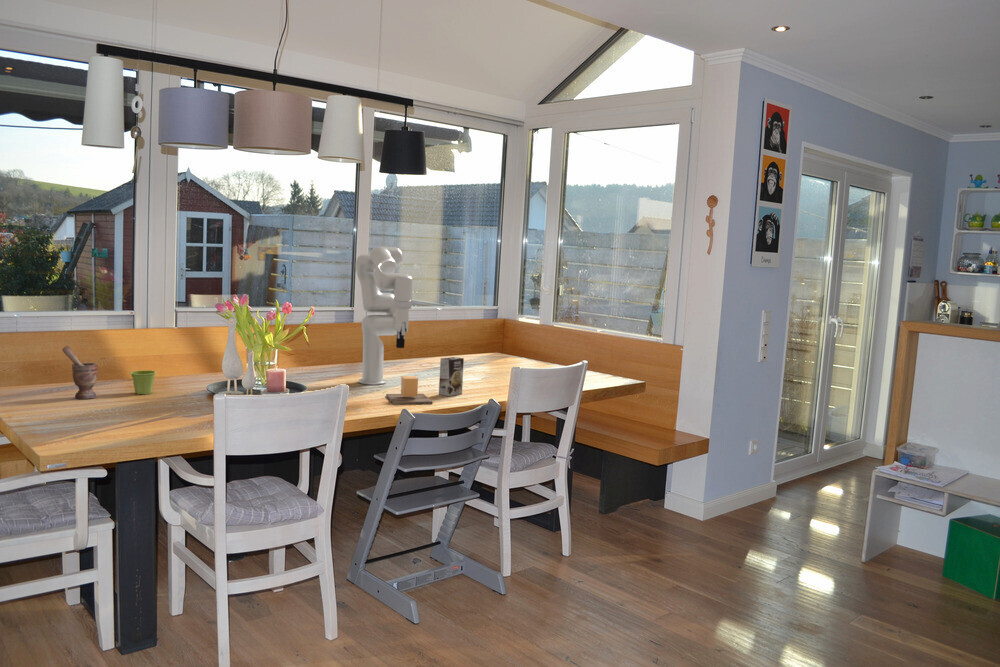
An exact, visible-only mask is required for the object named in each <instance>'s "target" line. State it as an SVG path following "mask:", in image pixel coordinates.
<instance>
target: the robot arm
mask: <svg viewBox="0 0 1000 667" xmlns="http://www.w3.org/2000/svg"><path fill="white" fill-rule="evenodd" d="M403 256H404V255H403V253H402V250H401V249H400V248H399V247H396V246H375V247H373V248H372V249H371V251H370V253H365V254H360V255H359V256H357V257H356V261H355V270H356V271H355V272H356V275H357V279H358V282H359V283H360V288H361V299H362V306H363V310H364V311H365V312H366V313H368V314H369V313H370V314H369V315H366V316H364V317H363V318H362V320H361V330H362V331H361V332H362V365H361V366H362V371H361V378H359V379H358V383H360V384H361V385H362V384H363V385H371V386H372V385H373V386H374V385H375V386H376V385H385V384H387V380H386V379H385V378H384V354H385V352H384V350H385V346H384V342H383V341H382V339H381V338H380V337H381V336H395V335H396V338H395V339H396V342H395V347H396V348H397V349H404V348H405V342H406V341H405V340H406V333H408V332H409V320H410V319H409V318H410V314H409V312H410V310H412V298H413V284H414V283H413V282H414V281H413V280H414V279H413V277H412V276H411V275H409V274H407V273H405V272H403V273H402V272H400V273H399V272H396V269H398V268H399V266H401V265H402V263H403V260H404V258H403ZM372 273H373V274H372ZM381 291H393V293H391V292H381Z"/></svg>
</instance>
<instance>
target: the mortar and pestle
mask: <svg viewBox="0 0 1000 667" xmlns="http://www.w3.org/2000/svg"><path fill="white" fill-rule="evenodd" d="M62 352H63V353H64V354H65V356H66V357H68V358H67V359H70V361H71V362H72V363H73V364H72V365H71V370H72V379H73V382H74V385H75V386H76V387H78V391H77V392H76V393H75V396H74V399H76V398H80V399H79V400H88V399H89V398H92V399H96V398H97V393H96V392H95V391H94V390H93V387H94V385H96V383H97V380H98V363H97V362H81V361H80V360H79V359H78V357H77V355H76V354H75V352H74V351H73V349H72V348H71V347H70V346H69V345H67V346H66V345H65V347H63V348H62ZM95 397H96V398H95ZM89 400H90V399H89Z"/></svg>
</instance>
